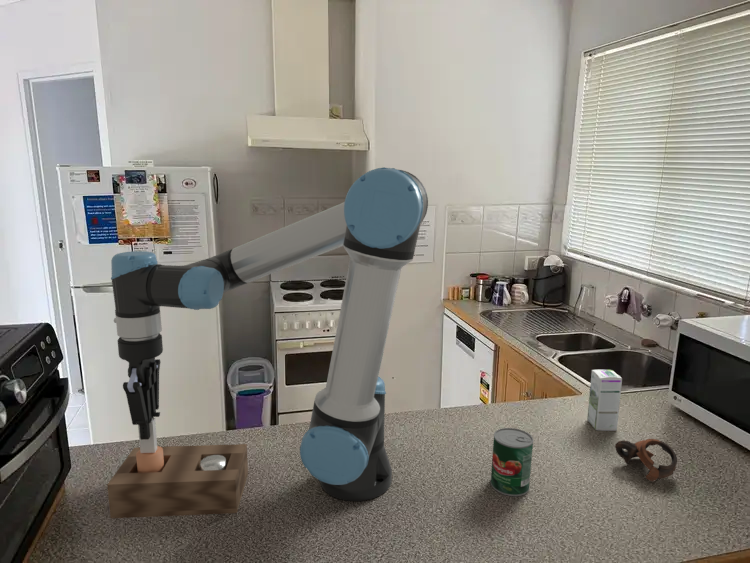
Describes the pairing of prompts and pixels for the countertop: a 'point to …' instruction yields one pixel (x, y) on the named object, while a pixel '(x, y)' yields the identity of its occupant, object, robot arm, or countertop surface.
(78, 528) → the countertop surface
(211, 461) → the grey rounded piece
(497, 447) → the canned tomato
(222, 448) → the brown wooden block
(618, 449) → the brown double ring
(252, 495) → the countertop surface
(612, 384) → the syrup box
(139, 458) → the tan rounded piece
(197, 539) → the countertop surface
